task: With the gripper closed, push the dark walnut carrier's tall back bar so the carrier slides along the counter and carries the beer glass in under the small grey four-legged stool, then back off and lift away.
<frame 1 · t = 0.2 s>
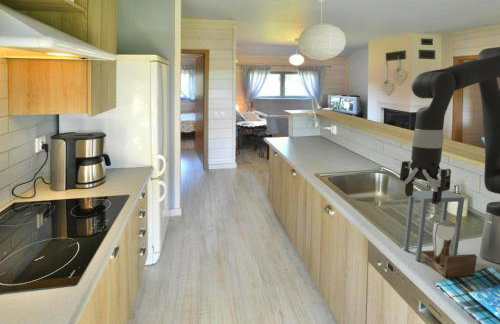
hand: (421, 199, 98), 29 cm above the countertop, tool pointing down, fingers open, 8 cm apart
grey four-legged stool: (429, 254, 125), on the countertop
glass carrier: (445, 256, 116), point 4 cm above the countertop, slide at 0.0 cm
beer glass: (440, 263, 119), resting in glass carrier
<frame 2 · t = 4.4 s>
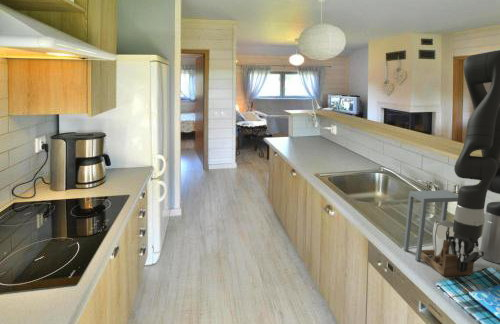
hand: (461, 270, 107), 3 cm above the countertop, tool pointing down, fingers closed
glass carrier: (444, 255, 117), point 4 cm above the countertop, slide at 0.8 cm, touching gripper
everything else where it was.
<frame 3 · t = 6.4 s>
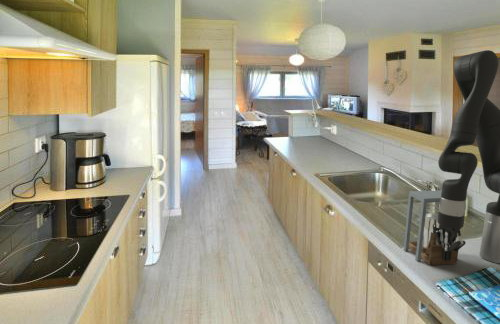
hand: (445, 259, 114), 4 cm above the countertop, tool pointing down, fingers closed
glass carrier: (431, 245, 124), point 4 cm above the countertop, slide at 8.1 cm, touching gripper
beer glass: (428, 254, 126), resting in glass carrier
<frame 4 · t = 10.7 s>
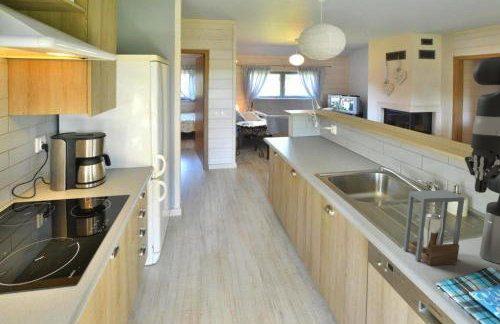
hand: (480, 191, 97), 31 cm above the countertop, tool pointing down, fingers closed
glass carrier: (431, 245, 124), point 4 cm above the countertop, slide at 8.0 cm
everything else where it was.
at the end: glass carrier slide at 8.0 cm; beer glass 0.3 cm off-centre on the grey four-legged stool, point 0.0 cm above the grey four-legged stool's base; beer glass tilted 0° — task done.
